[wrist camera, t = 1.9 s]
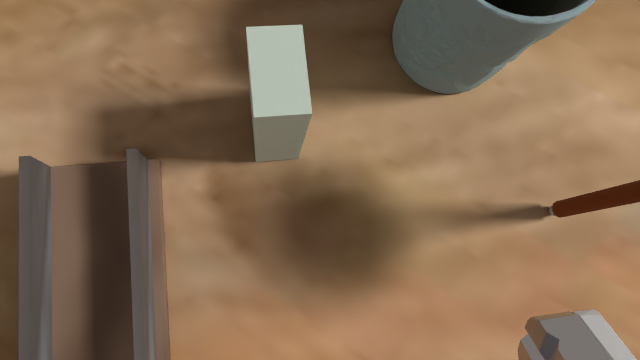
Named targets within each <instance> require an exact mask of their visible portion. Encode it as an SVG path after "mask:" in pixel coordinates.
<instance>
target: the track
mask: <svg viewBox="0 0 640 360" xmlns="http://www.w3.org/2000/svg"><path fill="white" fill-rule="evenodd" d="M126 155H127V161H122V162H109V163H95V164H82V165H69V166H55V167H50V166H48V165H46V164H44V163H42V162H41V161H39V160H37V159H35V158H33V157H31V156H21V157H19V323H18V360H170V341H169V321H168V301H167V281H166V261H165V241H164V222H163V202H162V182H161V162H160V161H159V160H158V159H149V160H147V159H146V157H145V156H144V155H143V154H142V153H141V152H140V151H139V150H138V149H137V148H132V149H126Z"/></svg>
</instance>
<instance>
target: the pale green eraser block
mask: <svg viewBox="0 0 640 360" xmlns="http://www.w3.org/2000/svg"><path fill="white" fill-rule="evenodd" d="M246 36H247V53H248V70H249V87H250V101H251V113H252V124H253V136H254V148H255V159H256V162H262V161H275V160H288V159H298V157H299V154H300V150H301V147H302V144H303V141H304V138H305V135H306V131H307V128H308V125H309V122H310V119H311V116H312V108H311V99H310V90H309V81H308V71H307V62H306V53H305V44H304V35H303V26H302V25H281V26H257V27H246Z"/></svg>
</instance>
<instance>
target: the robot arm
mask: <svg viewBox="0 0 640 360" xmlns="http://www.w3.org/2000/svg"><path fill="white" fill-rule="evenodd" d="M525 329H526V330H527V332H528V334H527V335H526V336H525V337H523V338H522V339H521V340H520V343H519V347H518V357H519V360H637V359H636V358H635V357H634V356H633V354H632V353H631V352H630V351H629V349H628V348H627V347H626V346H625V344H624V343H623V342H622V341H621V339H620V338H619V337H618V336H617V334H616V333H615V332H614V331H613V329H612V328H611V327H610V326H609V324H608V323H607V322H606V321H605V319H604V318H603V317H602V316H601V314H600V313H599V312H597V311H596V310H594V309H588V310H581V311H575V312H563V313H556V314H549V315H542V316H535V317H531V318H530V319H529V320H527V323H526V326H525Z"/></svg>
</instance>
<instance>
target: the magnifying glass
mask: <svg viewBox="0 0 640 360" xmlns="http://www.w3.org/2000/svg"><path fill="white" fill-rule="evenodd" d="M637 202H640V180H639V181H635V182H631V183H627V184H623V185H619V186H615V187H611V188H607V189H604V190H600V191H596V192H592V193H588V194H584V195H580V196H576V197H572V198H568V199H564V200H560V201H557V202H555V203H554V204H553V206H551V207H550V208H549V212H550V214H551V215H554V216H555V215H556V216H557V217H566V216H571V215H576V214H581V213H586V212H591V211H596V210H601V209H606V208H611V207H616V206H621V205H626V204H632V203H637Z"/></svg>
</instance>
